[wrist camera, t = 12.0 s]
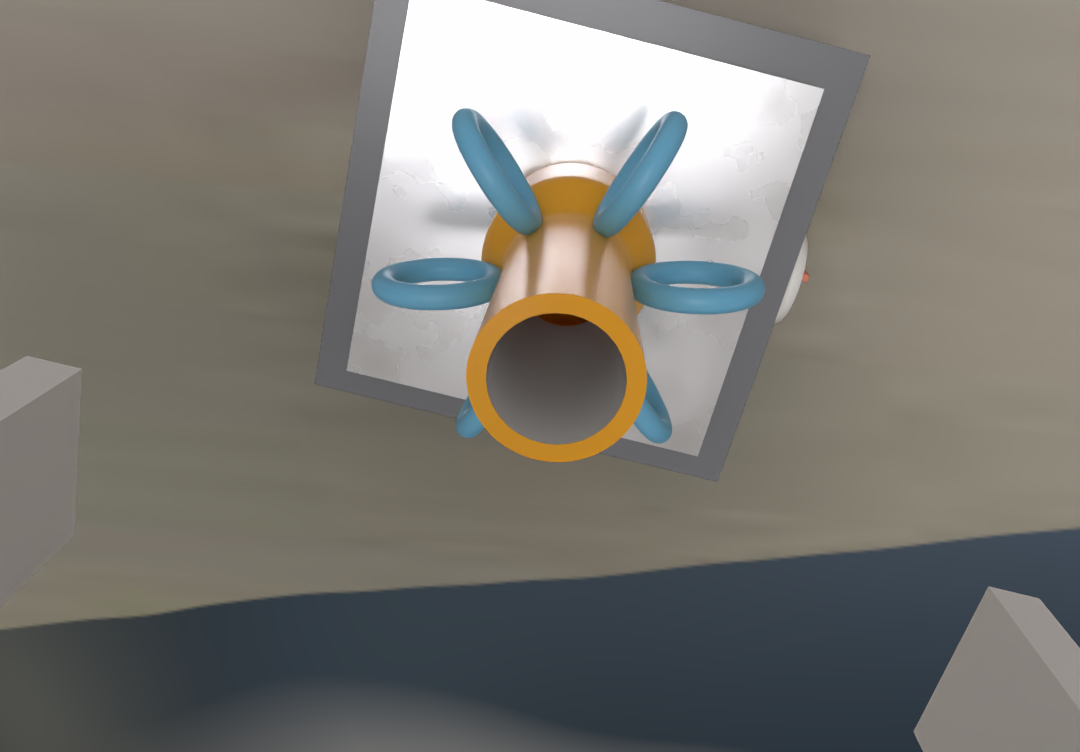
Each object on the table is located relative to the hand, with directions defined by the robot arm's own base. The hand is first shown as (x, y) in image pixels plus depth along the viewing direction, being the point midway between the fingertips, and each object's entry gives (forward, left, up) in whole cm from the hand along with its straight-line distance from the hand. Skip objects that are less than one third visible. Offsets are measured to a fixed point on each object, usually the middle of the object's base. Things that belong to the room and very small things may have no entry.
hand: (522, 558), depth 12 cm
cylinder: (0, 0, -22) cm, 22 cm away
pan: (0, 0, -27) cm, 27 cm away
